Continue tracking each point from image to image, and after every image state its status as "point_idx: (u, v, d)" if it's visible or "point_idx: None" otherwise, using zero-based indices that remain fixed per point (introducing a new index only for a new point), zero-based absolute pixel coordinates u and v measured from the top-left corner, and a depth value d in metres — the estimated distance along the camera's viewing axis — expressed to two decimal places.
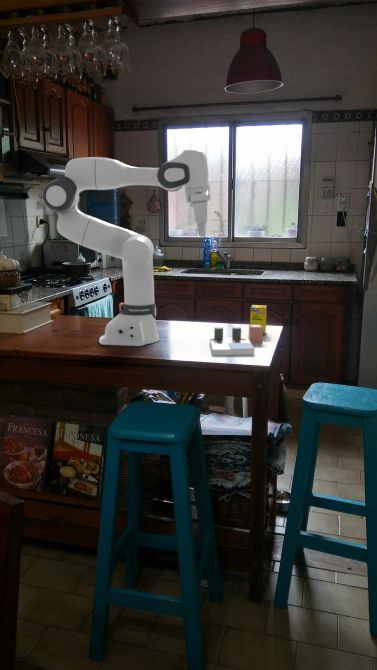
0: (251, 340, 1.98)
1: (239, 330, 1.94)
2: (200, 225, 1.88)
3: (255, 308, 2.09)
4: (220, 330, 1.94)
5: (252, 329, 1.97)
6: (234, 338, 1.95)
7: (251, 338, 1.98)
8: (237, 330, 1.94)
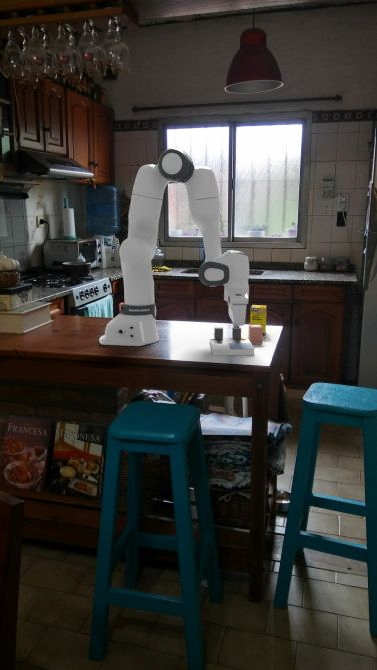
0: (251, 340, 1.98)
1: (239, 330, 1.93)
2: None
3: (255, 308, 2.09)
4: (220, 330, 1.94)
5: (252, 329, 1.97)
6: (234, 338, 1.94)
7: (251, 338, 1.98)
8: (237, 331, 1.93)
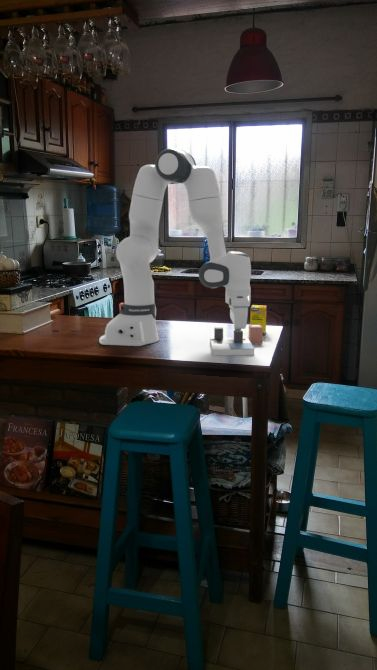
0: (251, 340, 1.98)
1: (241, 333, 1.89)
2: None
3: (255, 308, 2.09)
4: (220, 330, 1.94)
5: (252, 329, 1.97)
6: (236, 342, 1.89)
7: (251, 338, 1.98)
8: (239, 334, 1.89)
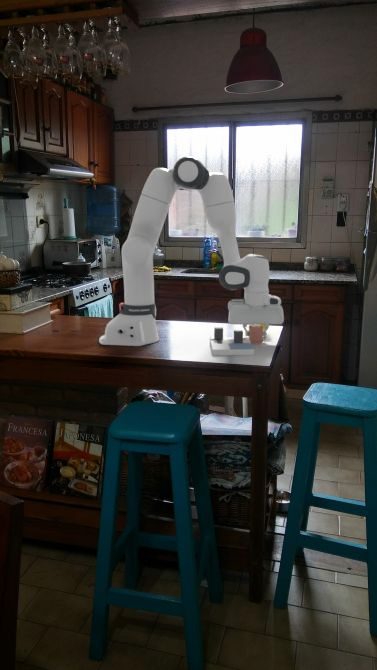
0: (251, 340, 1.98)
1: (241, 333, 1.89)
2: (268, 325, 1.99)
3: None
4: (220, 330, 1.94)
5: (252, 329, 1.97)
6: (236, 342, 1.89)
7: (251, 338, 1.98)
8: (239, 334, 1.89)
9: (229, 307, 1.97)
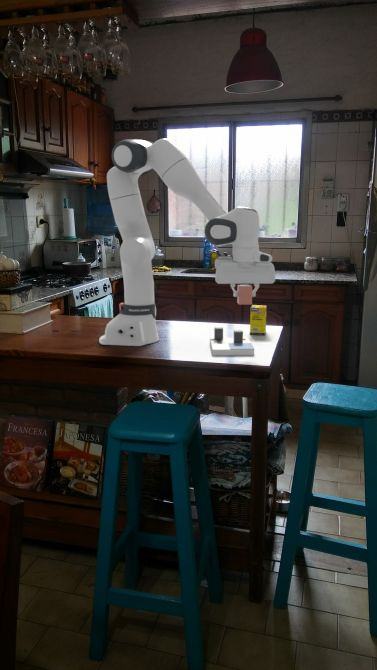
0: (240, 301, 1.82)
1: (241, 333, 1.89)
2: (258, 285, 1.83)
3: (255, 308, 2.09)
4: (220, 330, 1.94)
5: (240, 289, 1.81)
6: (236, 342, 1.89)
7: (240, 299, 1.82)
8: (239, 334, 1.89)
9: (216, 265, 1.81)
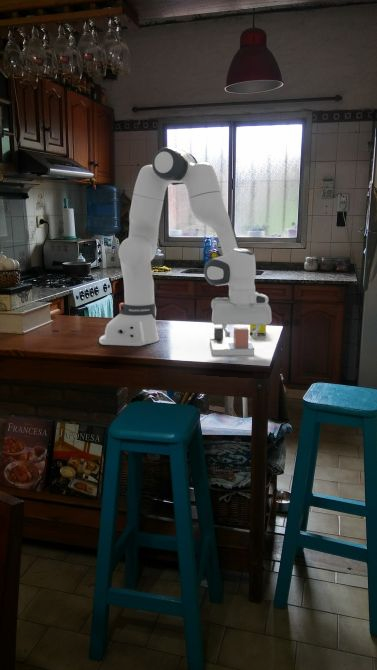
0: (236, 344, 1.83)
1: None
2: (260, 325, 1.84)
3: None
4: (220, 330, 1.94)
5: (237, 332, 1.82)
6: None
7: (236, 342, 1.83)
8: None
9: (212, 306, 1.82)
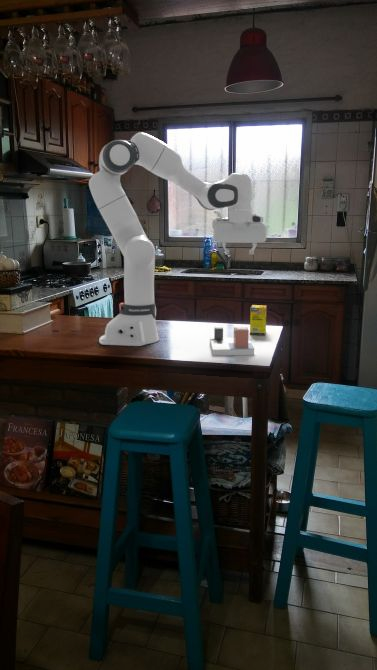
0: (236, 344, 1.83)
1: None
2: None
3: (255, 308, 2.09)
4: (220, 330, 1.94)
5: (237, 332, 1.82)
6: None
7: (236, 342, 1.83)
8: None
9: (213, 226, 2.04)
